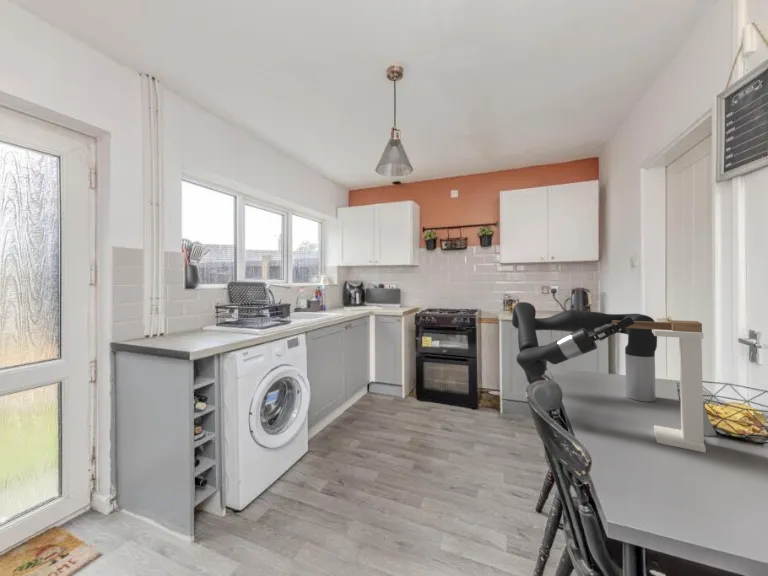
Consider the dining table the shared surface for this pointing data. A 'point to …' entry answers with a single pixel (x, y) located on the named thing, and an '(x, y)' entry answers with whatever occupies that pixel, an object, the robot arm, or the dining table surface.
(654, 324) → the tan angular block
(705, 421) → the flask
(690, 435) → the white pedestal stand
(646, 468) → the dining table surface
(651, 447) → the dining table surface
